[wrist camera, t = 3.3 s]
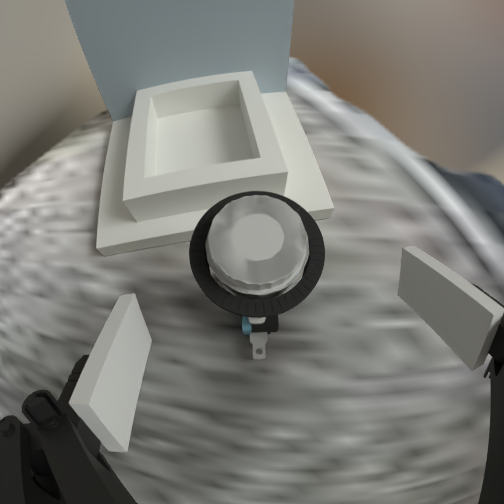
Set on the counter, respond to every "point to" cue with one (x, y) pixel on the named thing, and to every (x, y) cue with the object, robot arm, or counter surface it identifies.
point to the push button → (257, 258)
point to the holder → (193, 113)
